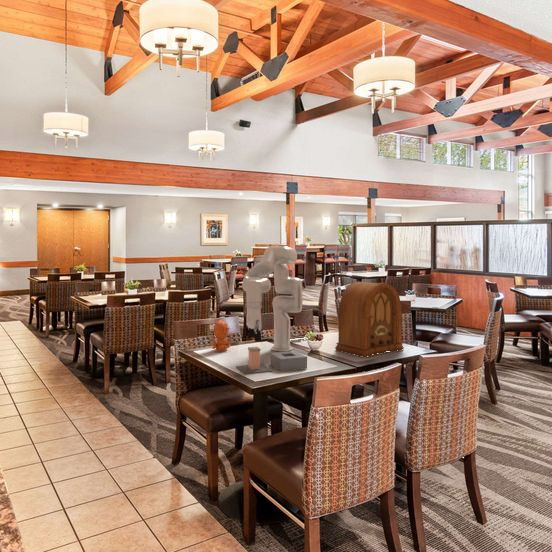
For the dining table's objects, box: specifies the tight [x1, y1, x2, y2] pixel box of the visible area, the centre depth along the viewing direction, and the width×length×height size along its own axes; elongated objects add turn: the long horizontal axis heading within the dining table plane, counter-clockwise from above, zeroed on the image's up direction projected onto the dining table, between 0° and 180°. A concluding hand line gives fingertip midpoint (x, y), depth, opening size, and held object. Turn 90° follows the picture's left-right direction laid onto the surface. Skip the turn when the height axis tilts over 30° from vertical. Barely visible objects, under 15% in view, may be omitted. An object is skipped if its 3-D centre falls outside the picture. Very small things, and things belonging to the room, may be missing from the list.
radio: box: [334, 281, 405, 358], centre depth 278 cm, size 33×23×40 cm
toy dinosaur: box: [211, 319, 232, 352], centre depth 277 cm, size 11×11×18 cm
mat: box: [236, 363, 273, 375], centre depth 235 cm, size 14×14×1 cm
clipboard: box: [263, 333, 305, 343], centre depth 314 cm, size 19×2×30 cm
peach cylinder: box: [247, 346, 262, 370], centre depth 235 cm, size 5×5×10 cm
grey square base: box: [270, 350, 308, 372], centre depth 241 cm, size 14×14×6 cm
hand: (254, 339), depth 235 cm, fingers open, 9 cm apart
